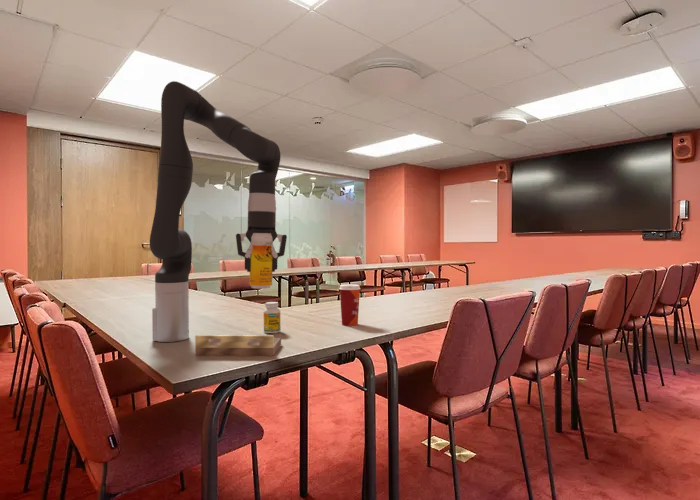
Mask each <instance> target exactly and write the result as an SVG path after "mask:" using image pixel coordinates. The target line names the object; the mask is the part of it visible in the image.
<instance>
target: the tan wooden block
mask: <svg viewBox="0 0 700 500" xmlns="http://www.w3.org/2000/svg"><path fill="white" fill-rule="evenodd" d="M274 335H275V334H272V335H271V334H268V335H267V334H266V335H265V334H263V335H261V334H259V335H258V334H257V335H253V334H252V335H251V334H248V335H247V334H245V335H243V334H237V335H235V334H233V335H232V334H228V335H227V334H225V335H224V334H221V335H220V334H197V335H195V336H194V339H195V342H194V343H195V350H194V351H195V354H194V355H195V356H221V357H222V356H229V357H230V356H233V357H234V356H238V357H239V356H244V357H245V356H247V357H248V356H249V357H250V356H259V357H260V356H264V357H265V356H267V357H268V356H270V357H272V356H274V355H275V354H276V353H277V352H278V350H279V349H278V348H280V347H281V346H280V345H282V337H275V336H274ZM275 352H276V353H275Z"/></svg>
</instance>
